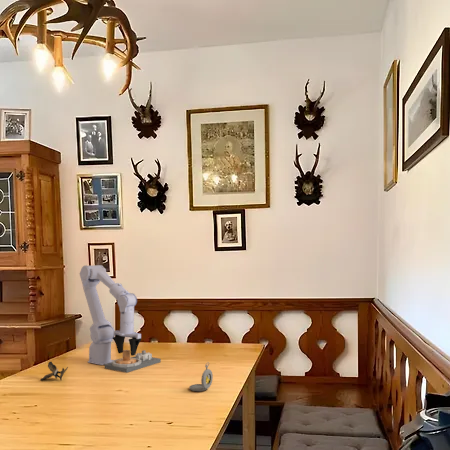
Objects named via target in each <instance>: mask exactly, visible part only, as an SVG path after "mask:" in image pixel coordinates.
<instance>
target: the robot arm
mask: <svg viewBox="0 0 450 450" xmlns="http://www.w3.org/2000/svg"><path fill="white" fill-rule="evenodd" d="M79 277H80V279H81V283H82V288H83V292H84V296H85V300H86V303H87V305H88V309H89V313H90V316H91V319H92V324H91V326H90V327H89V331H90V336H89V337H90V340H91V344H90V345H89V347H88V348H89V350H88V361H87V363H88V364H96V365H100V366H103V365H104V366H105V364H109V363H112V361H114V360H115V359H112V358H111V357H112V342H114V344H115V346H116V351H117V353H118V354H123V350H124V345H125V344H124V343H125V339H126V338H129V339H128V343H129V350H130V357H134V356H136V354H137V350H138V347H139V344H140V343H141V341H142V333H138V332H135V322H134V321H135V306H136V305H137V303H138V298H137V296H136V294H135V293H133V292H132V293H131V292H129V291H128V290H127V289H126V288H125V287H124V286H123V284H122V283H120V282H115V281H114V280H113V279H112V277H111V276H110V275H109V274H108V272H107V269H106V268H105V267H104V266H103V265H102V264H98V265H97V264H96V265H94V264H93V265H87V264H86V265H83V266H81V269H80V271H79ZM100 282H101V283H102V284H103V285H105V286H106V287H107V288H108V289H109V290H108V291H109V294H110V295H111V296H113V297H114V298H115V300H117V305H118V308H119V312H120V321H119V323H120V324H119V327H120V328H119V330H115V328H114V327H113V325H112V322H110V321H109V320H107V319H106V316H105V313H104V310H103V307H102V304H101V303H102V302H101V301H100V297H99V294H98V290H97V285H99V283H100Z"/></svg>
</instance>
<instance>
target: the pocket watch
mask: <svg viewBox="0 0 450 450" xmlns="http://www.w3.org/2000/svg"><path fill="white" fill-rule="evenodd" d="M209 366H210V362H206V364H205V366H204V367H205V369H204V371H203V372H202V375H201V380H200V381H201V382H200V383H194V384H191V385H189V388H188V389H189V390H190V391H193V392H203V391H207V390H208V389H209V388H210V387H211V385H212V383H213V380H214V379H213V371H212V370H211V369H210V368H209Z"/></svg>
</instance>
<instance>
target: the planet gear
mask: <svg viewBox="0 0 450 450" xmlns="http://www.w3.org/2000/svg"><path fill="white" fill-rule="evenodd" d="M122 358H123V359H121V358H117V359H118V360H117V359H115V360H116V363H118V364H132V363H136V359H134V358H131V351H130V349H123V353H122Z"/></svg>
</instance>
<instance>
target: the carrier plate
mask: <svg viewBox="0 0 450 450" xmlns="http://www.w3.org/2000/svg"><path fill="white" fill-rule="evenodd" d="M146 351H147V350H144V349H143V350H141V352H136V354H135V355H134V356H130V358H134V359H136V363H132V364H118V363H116V360H118V359H119V358H117V359H113V360H114V361H112V362H111V363H108V364H104V369H106V370H107V369H108V370H110V371H111V370H112V371H117V372H121V373H125V374H126V373H130V372H133V371H137V370H139V369H143V368H146V367H150V366H152V365H153V366H154V365H157V364H159V363H161V361H162V359H161V358H159V357H158V358H157V357H154V356H153V354H152V353H150V352H146ZM120 359H123V357H121V358H120Z"/></svg>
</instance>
